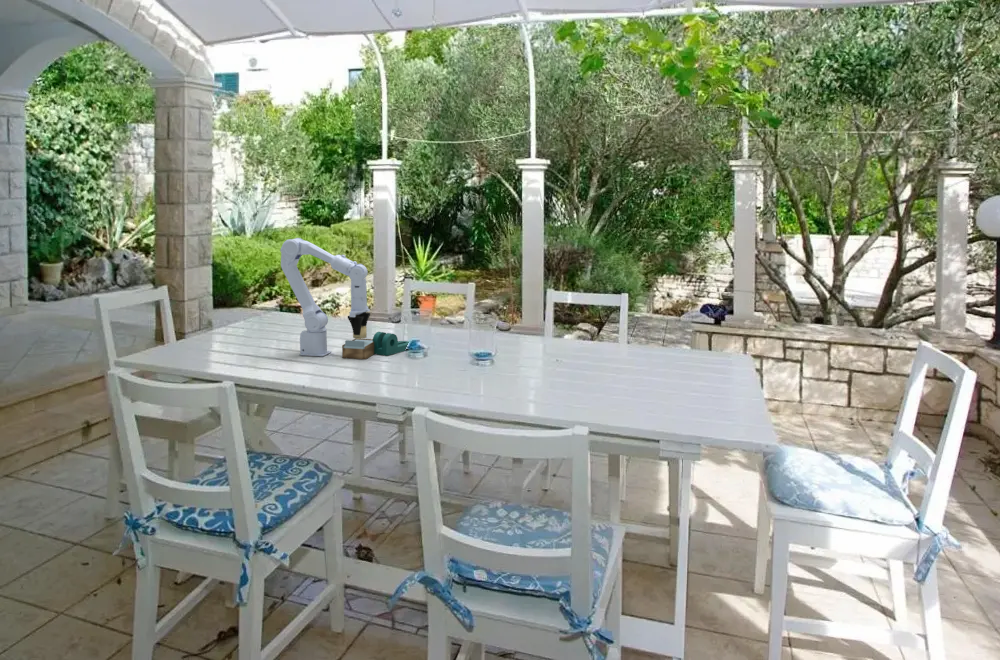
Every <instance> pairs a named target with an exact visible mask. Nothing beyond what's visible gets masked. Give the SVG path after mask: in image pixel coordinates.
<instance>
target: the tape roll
mask: <svg viewBox="0 0 1000 660" xmlns="http://www.w3.org/2000/svg"><path fill="white" fill-rule="evenodd" d="M367 337H368V335H367V325H366V326H361V332H360V335H354V333H353V332H352V338H353V339H355V338H358V339H367Z"/></svg>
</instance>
